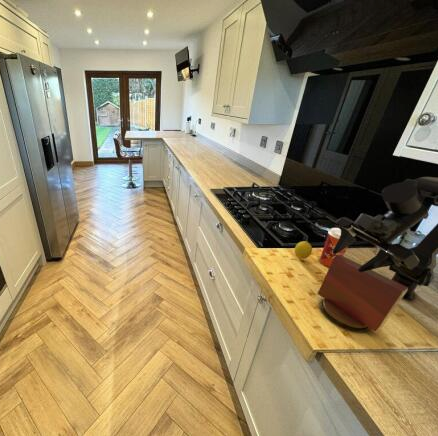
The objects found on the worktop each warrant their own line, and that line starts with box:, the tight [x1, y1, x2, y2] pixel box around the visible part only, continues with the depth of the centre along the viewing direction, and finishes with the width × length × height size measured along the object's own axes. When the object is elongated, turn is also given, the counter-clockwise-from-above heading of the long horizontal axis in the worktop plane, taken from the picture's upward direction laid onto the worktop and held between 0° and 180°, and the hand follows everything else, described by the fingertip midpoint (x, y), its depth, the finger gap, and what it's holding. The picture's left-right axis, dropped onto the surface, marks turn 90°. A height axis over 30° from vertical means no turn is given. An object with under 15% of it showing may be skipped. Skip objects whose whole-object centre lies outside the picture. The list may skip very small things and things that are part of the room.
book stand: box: [317, 255, 408, 333], centre depth 65 cm, size 11×15×15 cm
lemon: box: [294, 240, 313, 260], centre depth 92 cm, size 6×6×8 cm
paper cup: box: [319, 227, 349, 268], centre depth 89 cm, size 8×8×14 cm
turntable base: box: [319, 299, 370, 333], centre depth 69 cm, size 12×12×1 cm
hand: (345, 261), depth 65 cm, fingers open, 8 cm apart
